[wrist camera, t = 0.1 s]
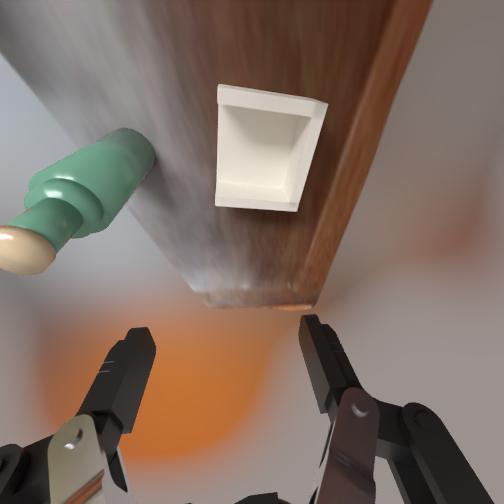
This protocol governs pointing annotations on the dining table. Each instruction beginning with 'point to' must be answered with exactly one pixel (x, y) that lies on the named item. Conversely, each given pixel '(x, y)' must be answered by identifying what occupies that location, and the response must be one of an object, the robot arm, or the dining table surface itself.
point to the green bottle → (75, 199)
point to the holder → (264, 147)
